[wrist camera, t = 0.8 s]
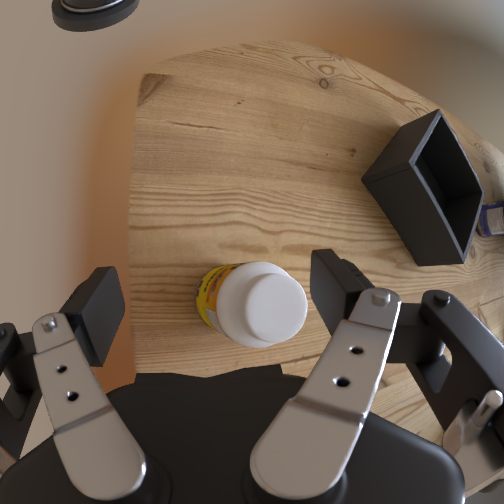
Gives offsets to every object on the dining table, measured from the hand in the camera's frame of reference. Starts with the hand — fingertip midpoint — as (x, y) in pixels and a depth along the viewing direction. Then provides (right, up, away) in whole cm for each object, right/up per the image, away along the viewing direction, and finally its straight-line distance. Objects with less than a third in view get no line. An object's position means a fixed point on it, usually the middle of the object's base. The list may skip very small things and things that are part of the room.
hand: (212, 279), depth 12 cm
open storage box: (+24, +9, +25) cm, 36 cm away
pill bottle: (+45, +7, +34) cm, 57 cm away
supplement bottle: (-1, -3, +14) cm, 15 cm away
